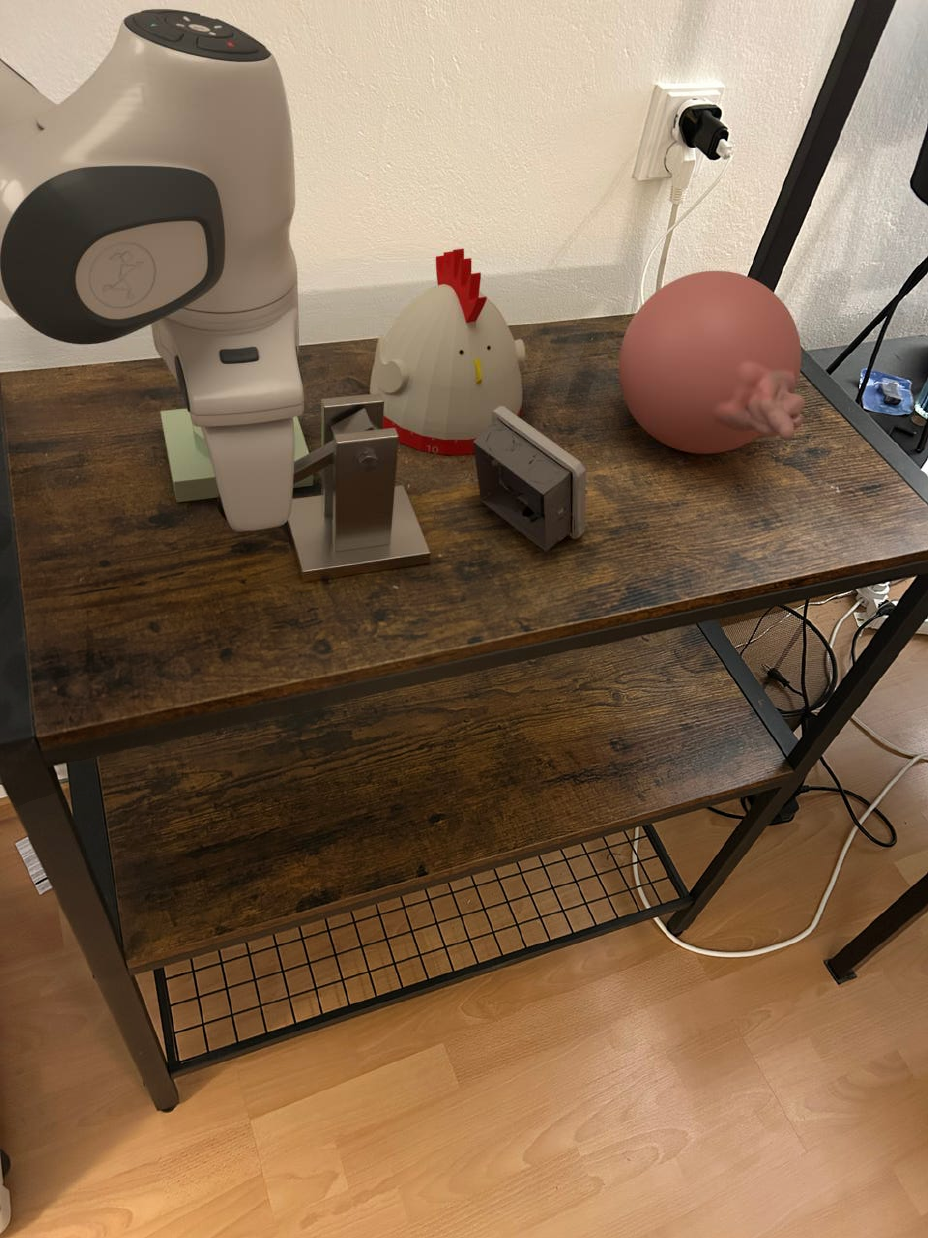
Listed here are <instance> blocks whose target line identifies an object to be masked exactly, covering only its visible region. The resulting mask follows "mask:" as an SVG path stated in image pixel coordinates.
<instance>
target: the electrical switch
mask: <svg viewBox="0 0 928 1238" xmlns="http://www.w3.org/2000/svg"><path fill="white" fill-rule="evenodd" d="M491 418H492V423H493V424H492V425H491V426H489V427H488V428H487V429H486V431H485V432H484V433H483V434H482V435H481V436H479V437H478V438H477V439H476V440H474V441H473V448H474V453H473V454H474V462H475V469H476V476H477V483H478V491H479V497H480V500H481V502H482V503H483V504H484V505H486V506H487V507H488V508H490V509H491V510H492V511H493V512H495V513H496V514H497V515H498V516H500V517H501V518H502V519H503V520H505V521H506V522H507V523H508V524H510V525H511V526H512V527H514V528H515V529H516V530H517V531H518V532H520V533H521V534H522V535H524V536H525V538H528V539H529V540H530V541H531V542H532V543H534V544H535V545H536V546H538V547H539V548H540V549H542V550H543V551H544V552H548V551H549V550H550V549H552V547H554V546H555V544H557V543H558V542H560V541H563V540H564V538H565V537H567V536H569V537H570V538H571V539H573V540H576V539H579V538H580V536H582V535H583V534H584V533H585V532H586V531H585V529H586V527H585V526H586V525H585V524H586V474H587V473H586V471H587V470H586V468H585V466H584V465H583V463H582V462H581V461H580V460H579V459H578V458H576V457H574V456H573V455H572V454H570V452H567V451H566V450H564V449H563V448H562V447H561V446H559V444H557V443H555V442H553V441H552V440H551V439H550V438H548V437H547V436H545V435H544V434H542V433H541V432H540V431H539V430H537V429H536V428H534V427H533V426H532V425H530V424H529V423H527V421H525V420H523V419H522V418H521V417H518V416H516V415H515V414H513V413H512V412H511V411H509V410H508V409H507V408H505V407H504V406H499V407H498V408H496V409H495V410H494V411H493V412H492V416H491ZM527 507H528V508H529V509H530V510H531V511H532V513H533V514H531V515H530V516H524V515H523V512H524V511H525V510H526V508H527Z"/></svg>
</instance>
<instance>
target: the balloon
mask: <svg viewBox="0 0 928 1238" xmlns="http://www.w3.org/2000/svg"><path fill="white" fill-rule="evenodd" d="M618 358H619V359H618V377H619V385H620V389H621V393H622V396H623V399H624V401H625V404H626V406H627V408H628V410H629V412H630V413H631V415H632V416H633V418H634V419H635V421H636V423H638V425H639V426H640V427H641V428H642V429H643V430H644V431H645V432H646V433H647V434H648V435H649V436H651V437H652V438H654V440H657V441H658V442H660V443H662V444H664V445H665V446H668V447H670V448H672V449H675V450H677V451H682V452H685V453H692V454H700V455H701V454H702V455H704V454H706V455H708V454H718V453H719V454H720V453H723V452H727V451H731V450H735V449H737V448H740V447H742V446H745V445H747V444H748V443H751V442H752V441H754V440H755V439H757V438H758V437H760V436H762V437H764V438H767V439H768V438H769V439H770V438H775V437H777V436H779V437H780V439H781V440H783V441H790V440H792V439H793V438H794V436H795V431H796V430H798V429H799V428H800V427H801V426H802V425H803V423H804V415H803V414H802V413H801V411H802V409H804V407H805V404H806V401H805V398H804V397H803V396H802V395H800V394H798V393H795V391H796V389H797V386H798V382H799V378H800V375H801V374H800V373H801V368H802V367H801V366H802V346H801V340H800V335H799V331H798V328H797V325H796V322H795V320H794V318H793V316H792V313H791V312H790V311H789V309H788V308H787V306H786V305H785V303H784V302H783V301H782V300H781V298H780V297H779V296H778V295H777V294H776V293H774V292H773V291H772V290H771V289H770V288H768V287H767V286H766V285H765V284H763V283H761V282H759V281H758V280H756V279H754V278H752V277H749V276H748V275H744V274H741V273H737V272H733V271H727V270H705V271H698V272H693V273H689V274H687V275H684V276H681V277H678V278H677V279H673V281H671V282H669V283H667V284H665V285H664V286H661V288H660V289H658V290H657V291H656V292H654V293H653V294H652V295H651V296H650V297H648V298H647V299H646V301H644V303H643V304H641V306H640V307H639V309H638V310H637V311H636V313H635V314H634V316H633V318H632V319H631V321H630V323H629V324H628V326H627V329H626V331H625V333H624V337H623V339H622V343H621V347H620V351H619V357H618Z"/></svg>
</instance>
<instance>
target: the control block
mask: <svg viewBox="0 0 928 1238" xmlns="http://www.w3.org/2000/svg"><path fill="white" fill-rule="evenodd" d="M298 417H299V416H297V417H293V421H294V438H295V453H294V462H295V461H296V460H298V459H300V458H302V457H304V456H305V455H307V454H309V453H310V452H309V449H308V446H307V445H308V444H307V443H306V440H305V436H304V433H303V431H302V426H301V423H300V420H299V418H298ZM160 418H161V425H162V432H163V437H164V442H165V447H166V453H167V458H168V464H169V469H170V475H171V480H172V485H173V491H174V492H173V493H174V496H175V502H176V503H183V502H184V503H185V502H192V501H200V500H207V499H209V500H210V499H216V498H217V499H218V496H219V489H218V486H217V482H216V478H215V474H214V471H213V467H212V463H211V459H210V456H209V452H208V449H207V445H206V442H205V439H204V435H203V432H202V429H201V427H197V426H195V425H193V423H192V421H191V416H190V412H188V411H187V408H178V409H169V410H160ZM312 486H314V474H313V475H311V476H309V477H307V478H305V479H304V480H302V481H300V482H298V483H296V484H295V485H293V489H296V488H297V489H298V488H303V487H312Z"/></svg>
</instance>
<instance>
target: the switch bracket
mask: <svg viewBox="0 0 928 1238" xmlns="http://www.w3.org/2000/svg"><path fill="white" fill-rule="evenodd" d="M364 408H365V409H366V410H367V412H368V413H369V415H370V416H371V418H372V419H373V421H374V422H375V424H376V425H377V427H378V428H379V430H370V431H361V432H352V433H343V434H335V435H334V434H333V431H332V428H331V427H332V426H333V425H335V424H337V423H338V422H340V421H342V420H344V419H346V418H347V417H349V416H351V415H353V414H355V413H356V412H358V411H360V410H362V409H364ZM320 412H321V413H320V415H321V416H320V417H321V418H320V423H321V426H320V433H321V434H320V435H321V436H320V442H321V443H320V444H321V445H320V447H322V446H323V445H325V444H327V443H329V442H331V441H332V440H334V453H333V463H332V464H331V465H329V466H327V467H325V468H323V469H322V470H320V473H321V474H320V475H321V477H320V480H321V481H320V485H321V488H320V492H321V493H320V494H321V495H313V496H305V497H298V498H297V497H296V498H292V507H291V513H290V516H289V519H288V520H287V522H286V523H285V524H286V527H287V530H288V534H289V538H290V541H291V545H292V549H293V552H294V556H295V559H296V563H297V566H298V570H299V573H300V577H301V580H302V583H308V582H315V581H321V580H322V581H323V580H328V579H333V578H340V577H346V576H347V577H348V576H354V575H361V574H367V573H373V572H380V571H388V570H393V569H401V568H406V567H407V568H408V567H414V566H421V565H427V564H430V562H431V553H432V552H431V550H430V548H429V544H428V543H427V540H426V537H425V535H424V533H423V530H422V527H421V525H420V523H419V522H420V521H418V518H417V515H416V513H415V510H414V507H413V504H412V502H411V501H410V498H409V494H408V492H407V491H406V488H405V485H404V484H400V485H396V479H397V477H396V476H397V466H398V465H397V464H398V452H399V441H398V439H399V436H398V434H397V431H396V429H395V428H388V429H383V414H384V400H383V397H382V395H381V393H377V394H370V393H367V394H359V395H347V396H339V397H328V398H321V400H320Z"/></svg>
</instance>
